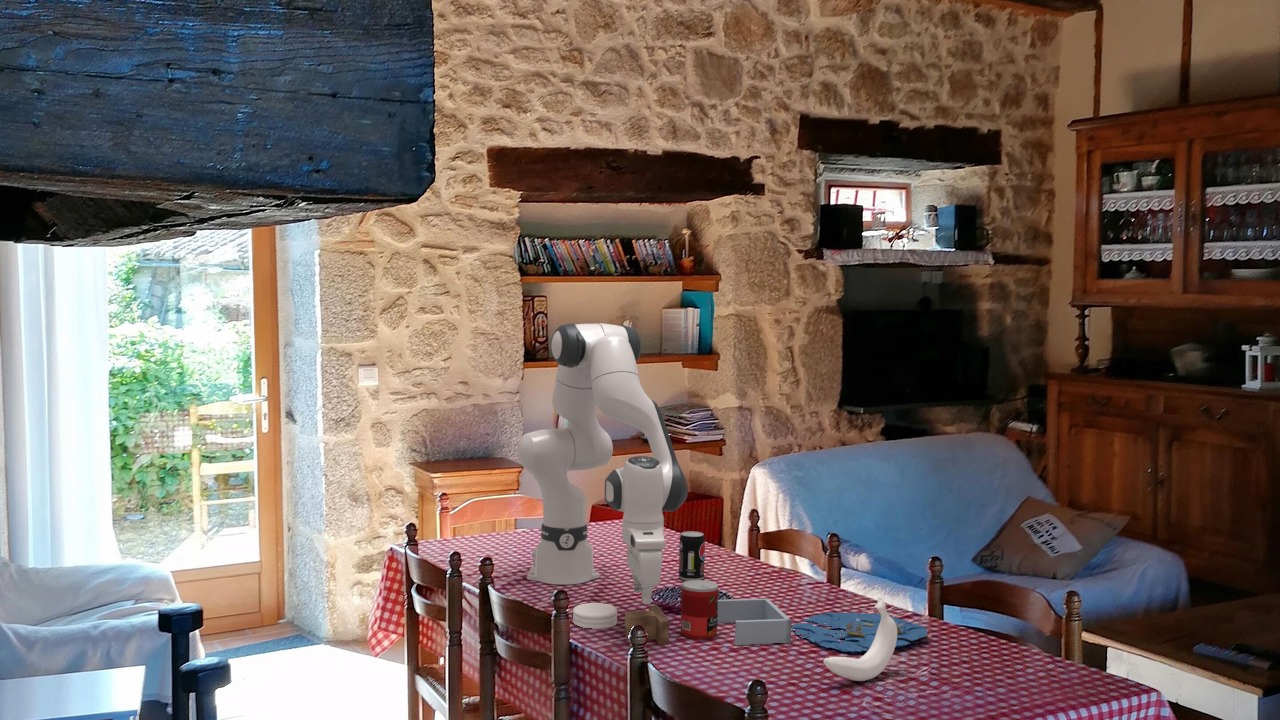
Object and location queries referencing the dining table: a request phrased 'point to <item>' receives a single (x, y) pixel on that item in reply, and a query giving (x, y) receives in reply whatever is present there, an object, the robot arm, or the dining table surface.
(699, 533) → the beverage can
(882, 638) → the banana
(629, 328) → the robot arm
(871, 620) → the decorative plate
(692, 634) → the canned food
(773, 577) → the dining table surface
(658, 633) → the t-shaped block
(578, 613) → the white round container
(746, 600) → the box
